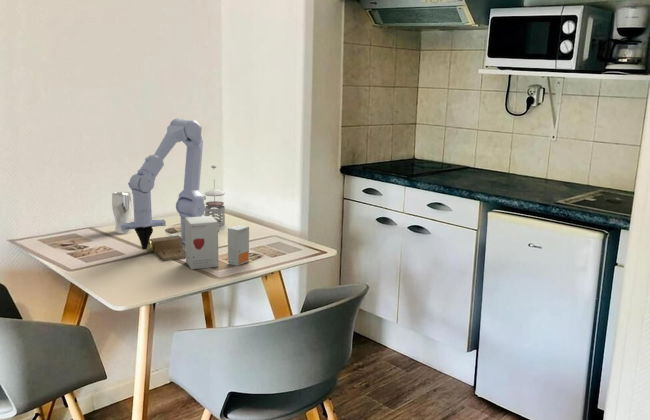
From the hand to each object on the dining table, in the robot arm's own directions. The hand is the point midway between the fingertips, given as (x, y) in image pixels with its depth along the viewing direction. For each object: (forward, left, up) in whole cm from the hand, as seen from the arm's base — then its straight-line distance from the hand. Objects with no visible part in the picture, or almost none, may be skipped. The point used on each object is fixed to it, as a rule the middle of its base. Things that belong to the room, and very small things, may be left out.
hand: (144, 248), depth 202 cm
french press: (-33, -22, -2) cm, 40 cm away
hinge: (-7, 0, -1) cm, 7 cm away
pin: (-7, 0, -1) cm, 7 cm away
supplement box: (-13, +21, -2) cm, 25 cm away
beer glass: (0, -30, -2) cm, 30 cm away
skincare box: (-24, +25, -2) cm, 35 cm away
